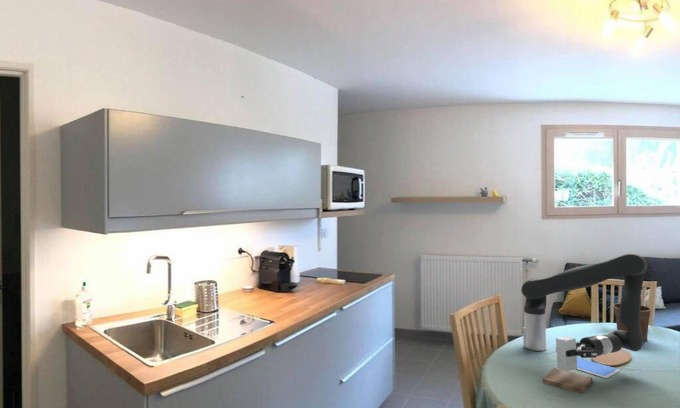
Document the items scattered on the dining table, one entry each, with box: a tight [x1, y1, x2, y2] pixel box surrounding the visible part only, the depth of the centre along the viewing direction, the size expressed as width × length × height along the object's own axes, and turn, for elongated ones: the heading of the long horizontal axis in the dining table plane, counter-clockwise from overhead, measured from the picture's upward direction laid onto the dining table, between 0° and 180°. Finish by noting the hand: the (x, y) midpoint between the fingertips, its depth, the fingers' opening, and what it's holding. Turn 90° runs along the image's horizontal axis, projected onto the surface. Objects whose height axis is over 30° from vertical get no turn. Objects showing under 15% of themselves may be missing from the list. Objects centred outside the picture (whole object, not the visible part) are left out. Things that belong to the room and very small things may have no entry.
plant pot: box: [612, 302, 653, 343], centre depth 206 cm, size 16×16×16 cm
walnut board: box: [542, 367, 593, 394], centre depth 160 cm, size 14×14×2 cm
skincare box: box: [555, 335, 577, 372], centre depth 160 cm, size 6×4×12 cm
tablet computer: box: [576, 356, 620, 379], centre depth 173 cm, size 19×13×1 cm, turn 33°
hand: (561, 351), depth 159 cm, fingers closed on skincare box, 4 cm apart
